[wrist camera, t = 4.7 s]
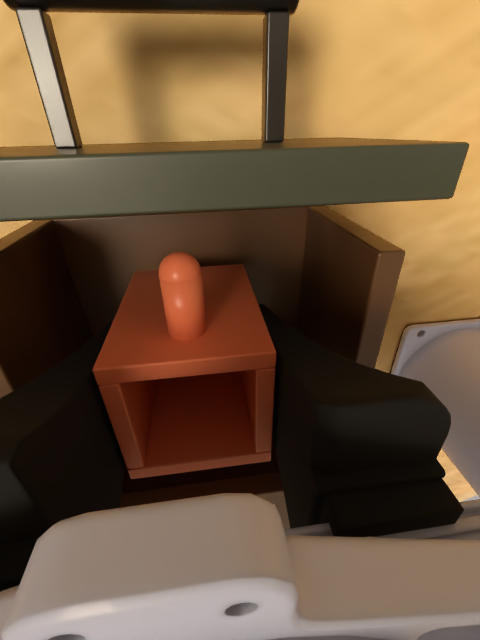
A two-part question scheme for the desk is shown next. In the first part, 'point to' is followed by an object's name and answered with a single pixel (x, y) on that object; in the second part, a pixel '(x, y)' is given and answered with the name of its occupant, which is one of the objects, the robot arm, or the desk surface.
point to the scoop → (188, 370)
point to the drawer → (197, 216)
